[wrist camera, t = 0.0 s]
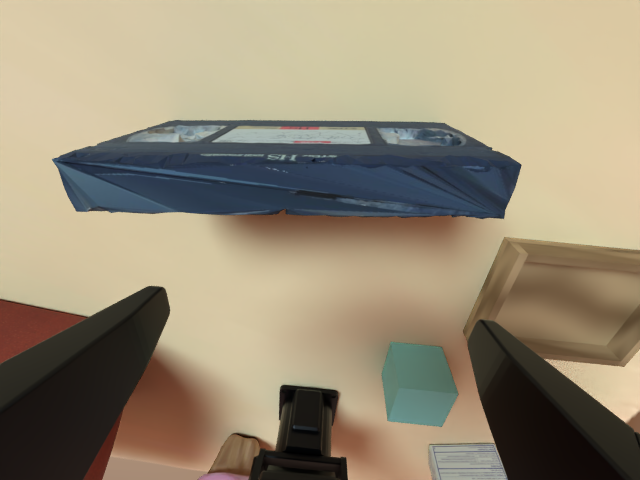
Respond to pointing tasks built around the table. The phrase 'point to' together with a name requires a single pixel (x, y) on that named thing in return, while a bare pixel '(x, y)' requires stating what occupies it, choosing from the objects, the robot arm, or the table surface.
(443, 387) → the cube
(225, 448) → the cupcake
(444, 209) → the vhs cassette tape
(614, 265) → the tray
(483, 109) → the table surface
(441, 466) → the medicine box
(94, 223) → the table surface
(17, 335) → the plant pot
